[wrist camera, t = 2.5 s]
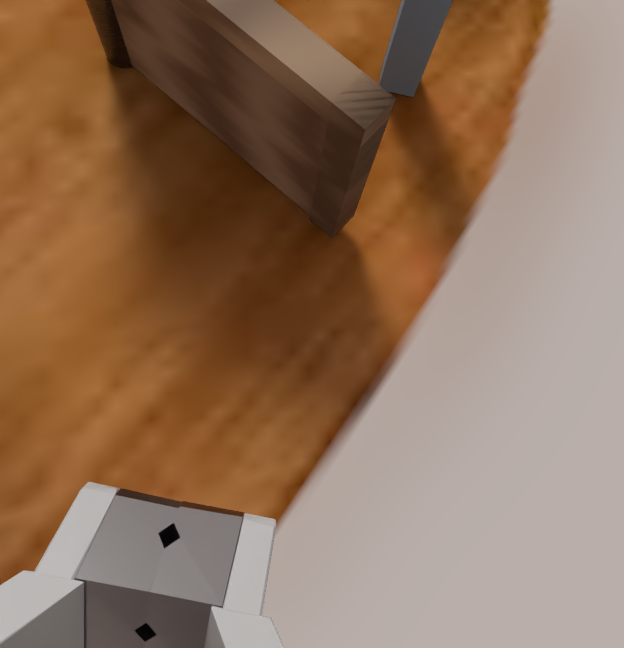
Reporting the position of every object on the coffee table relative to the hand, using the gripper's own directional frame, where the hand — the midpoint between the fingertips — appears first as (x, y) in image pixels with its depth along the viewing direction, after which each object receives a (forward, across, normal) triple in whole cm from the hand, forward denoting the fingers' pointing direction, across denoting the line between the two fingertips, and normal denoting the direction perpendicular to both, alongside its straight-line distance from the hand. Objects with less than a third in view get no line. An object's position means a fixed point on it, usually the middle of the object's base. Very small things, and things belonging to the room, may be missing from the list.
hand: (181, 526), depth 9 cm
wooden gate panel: (+30, +4, +2) cm, 30 cm away
